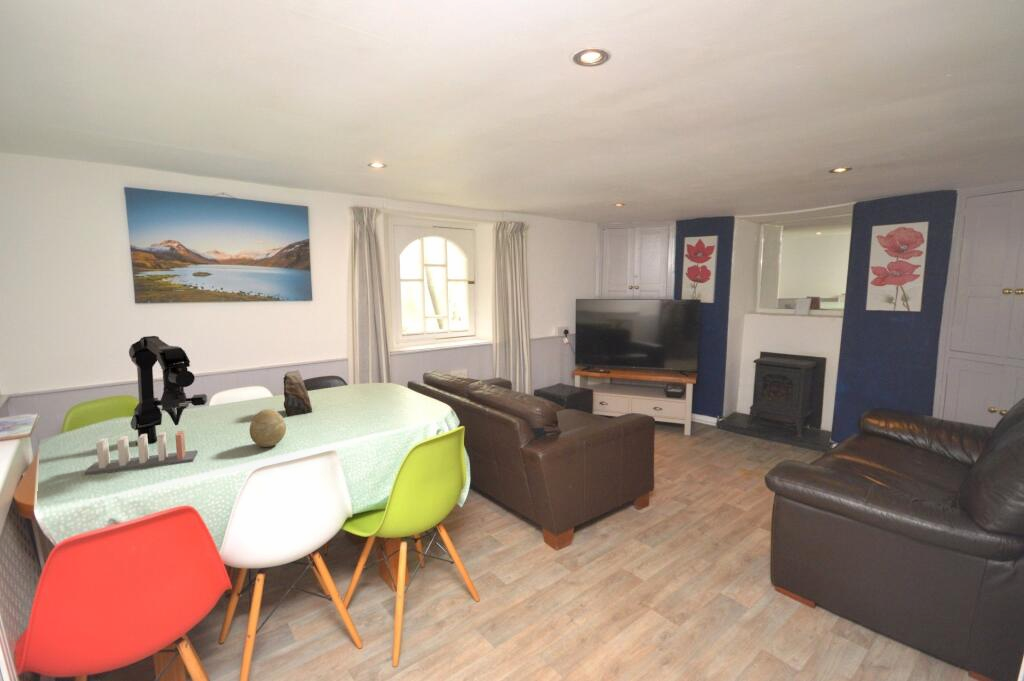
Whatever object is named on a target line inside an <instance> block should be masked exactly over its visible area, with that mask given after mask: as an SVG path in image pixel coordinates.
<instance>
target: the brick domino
mask: <svg viewBox="0 0 1024 681" xmlns="http://www.w3.org/2000/svg"><path fill="white" fill-rule="evenodd" d="M174 439H175V449H176V453H177V460H178V459H183V457H184V456H185V454H186V442H185V441H186V440H185V430H177V433H176V434H175V438H174Z"/></svg>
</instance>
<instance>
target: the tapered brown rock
mask: <svg viewBox="0 0 1024 681" xmlns="http://www.w3.org/2000/svg"><path fill="white" fill-rule="evenodd" d="M283 396H284V401H283V408H284V411H285V415H286V416H287V417H294V416H300V415H307V414H312V413H313V407H312V403H311V399H310V396H309V392H308V390H307V388H306V385H305V382H304V380H303V377H302V375H301V373H300V371H299V370H296V371H287V372H286V373H285V374H284V377H283Z"/></svg>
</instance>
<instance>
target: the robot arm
mask: <svg viewBox="0 0 1024 681" xmlns="http://www.w3.org/2000/svg"><path fill="white" fill-rule="evenodd" d="M128 354H129V355H128V356H129V358H130V359H131V362H132V363H133V364H134V366H136V371H137V388H138V403H137V405H136V407H135V408H134V409H133V415H132V418H131V420H130V428H131V429H133V430H134V431H137V439H138V438H139V436H140V435H141V434H147V438H148V444H154V443H157V430H156V429H157V427H156V426H161V425H162V422H163V421H162V420H163V413H162V411H165V412H166V413H167V414H168V415H169V416H170V418H171V420H172V423H173V424H174V425H175V426H178V425H179V424H180V420H181V417H182V415H183V412H184V410H185V409H187V408H188V407H189V405H190V404H191V405H193V407H195V406H204V405H206V404H207V402H208V396H207V395H206V394H205V393H203V394H202V393H201V394H193V396H192V397H187V394H186V392H185V388H188V387H190V386H191V385H192V384H193V383H194V382H195V379H196V378H195V375H194V373H193V372H191V370H190V371H189V370H188V368H189V367H191V364H190V363H191V361H190V359H189V357H188V354H187V353H186V351H185V350H184V348H182V347H181V346H177V345H176V346H174V345H169V344H168V343H166V342H165V341H163V340H162V339H160V337H159V336H156V335H150V336H149V335H147V336H142V337H141V338H140V339H139V340H138V341H136V342H134V343H132V344H131V346H129V350H128ZM157 362H158V364H159V366H160V369H161V370H162V382H163V384H162V385H163V389H162V390H163V392H162V395H161V397H160V399H159V398H158V397H155V391H154V372H153V371H154V369H153V368H154V366H155V364H156V363H157ZM159 406H161V408H160V407H159ZM135 445H137V446H138V441H137V440H136V442H135Z"/></svg>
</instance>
